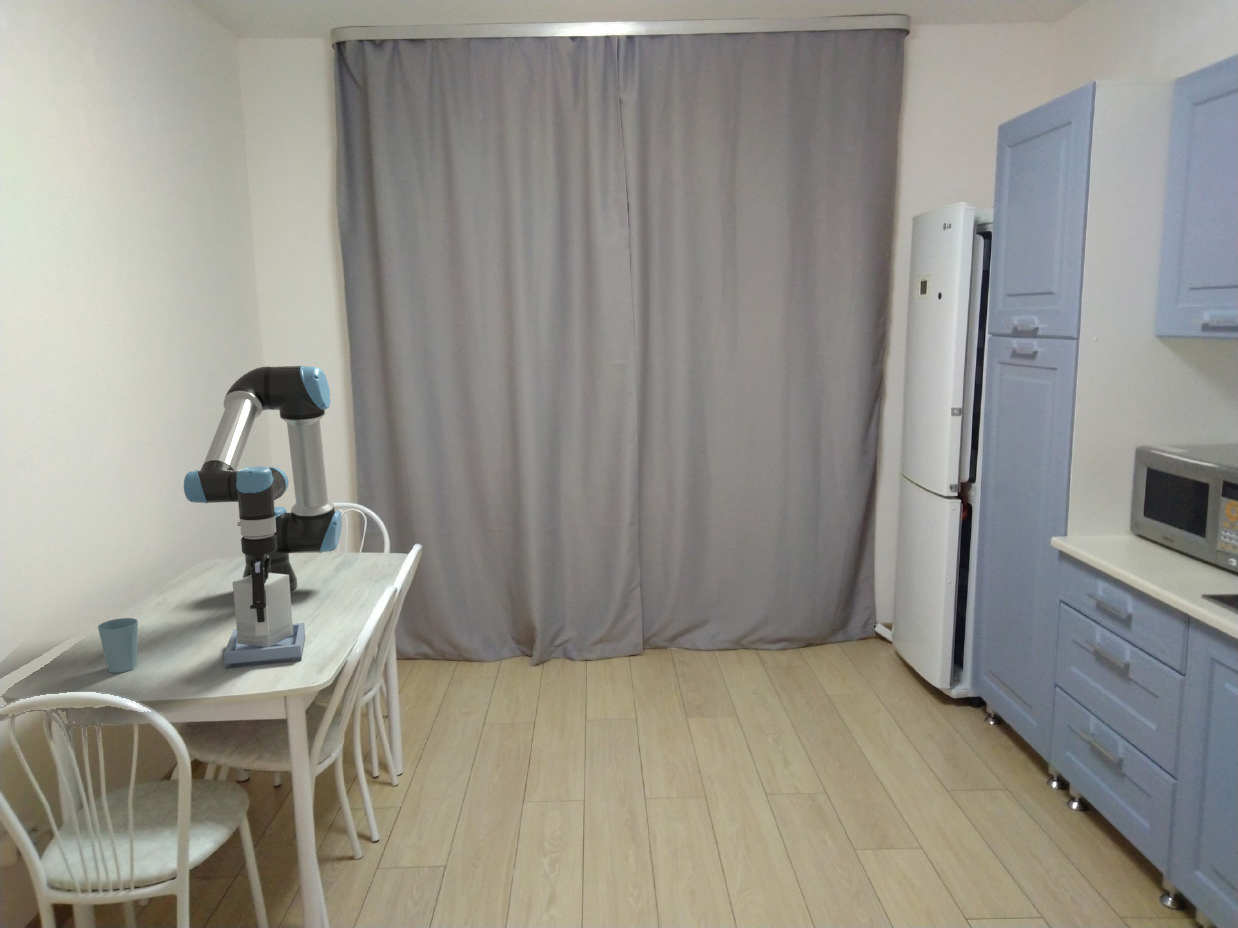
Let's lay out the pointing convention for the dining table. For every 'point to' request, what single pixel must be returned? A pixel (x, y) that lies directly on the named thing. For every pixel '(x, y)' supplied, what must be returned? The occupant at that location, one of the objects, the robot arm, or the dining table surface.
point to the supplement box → (276, 608)
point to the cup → (119, 644)
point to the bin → (265, 650)
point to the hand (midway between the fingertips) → (265, 625)
